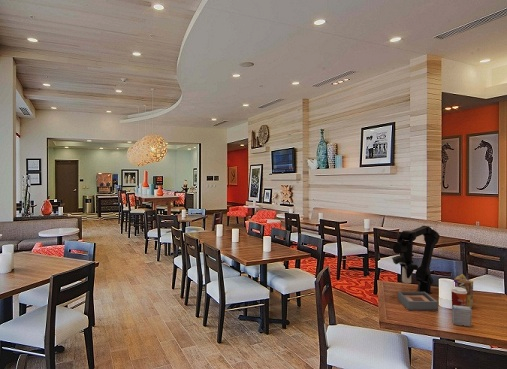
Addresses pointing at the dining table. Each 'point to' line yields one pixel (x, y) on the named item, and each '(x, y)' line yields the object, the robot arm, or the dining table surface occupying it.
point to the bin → (417, 301)
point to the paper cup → (458, 296)
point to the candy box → (469, 288)
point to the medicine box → (461, 315)
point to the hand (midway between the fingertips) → (406, 277)
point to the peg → (405, 276)
